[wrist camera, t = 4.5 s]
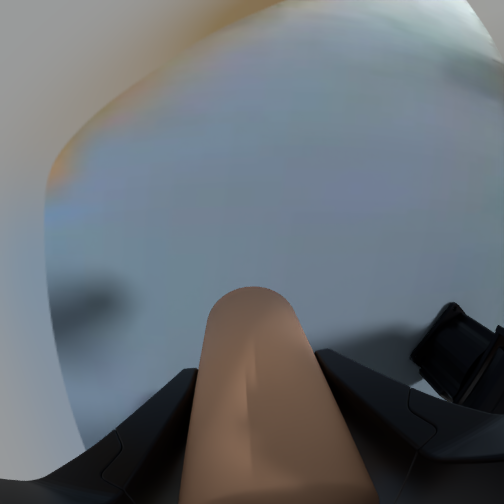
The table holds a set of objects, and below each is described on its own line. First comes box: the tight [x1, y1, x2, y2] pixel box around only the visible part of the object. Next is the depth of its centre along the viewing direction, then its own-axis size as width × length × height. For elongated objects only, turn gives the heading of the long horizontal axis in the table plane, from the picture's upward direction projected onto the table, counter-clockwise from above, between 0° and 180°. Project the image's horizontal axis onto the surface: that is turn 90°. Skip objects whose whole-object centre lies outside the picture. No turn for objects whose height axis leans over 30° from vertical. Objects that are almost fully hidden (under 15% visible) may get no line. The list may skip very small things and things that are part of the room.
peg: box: [178, 287, 379, 504], centre depth 7 cm, size 3×3×8 cm
